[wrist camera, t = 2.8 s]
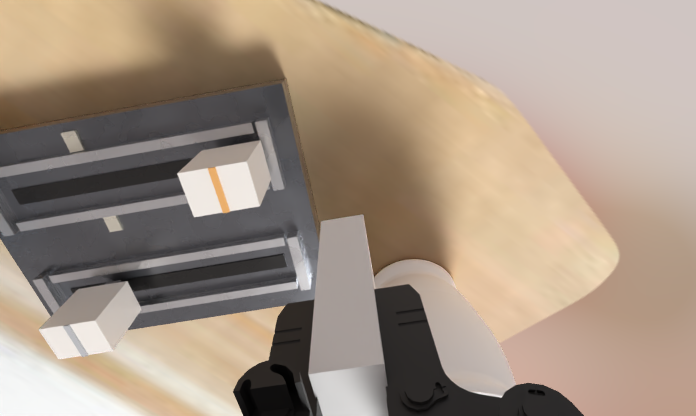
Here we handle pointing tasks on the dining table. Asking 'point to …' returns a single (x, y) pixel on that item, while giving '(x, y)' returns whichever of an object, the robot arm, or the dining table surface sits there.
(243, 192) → the fader
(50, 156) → the dark grey slotted tray
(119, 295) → the fader
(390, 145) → the dining table surface
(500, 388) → the jar
